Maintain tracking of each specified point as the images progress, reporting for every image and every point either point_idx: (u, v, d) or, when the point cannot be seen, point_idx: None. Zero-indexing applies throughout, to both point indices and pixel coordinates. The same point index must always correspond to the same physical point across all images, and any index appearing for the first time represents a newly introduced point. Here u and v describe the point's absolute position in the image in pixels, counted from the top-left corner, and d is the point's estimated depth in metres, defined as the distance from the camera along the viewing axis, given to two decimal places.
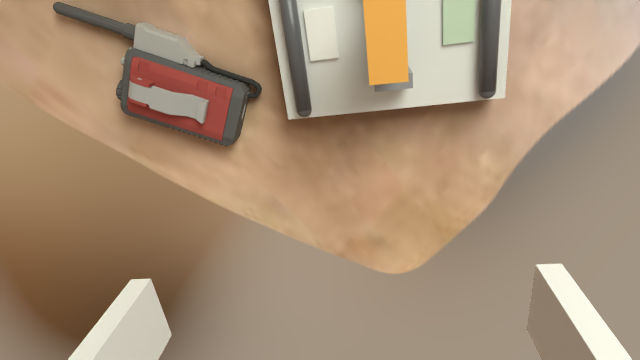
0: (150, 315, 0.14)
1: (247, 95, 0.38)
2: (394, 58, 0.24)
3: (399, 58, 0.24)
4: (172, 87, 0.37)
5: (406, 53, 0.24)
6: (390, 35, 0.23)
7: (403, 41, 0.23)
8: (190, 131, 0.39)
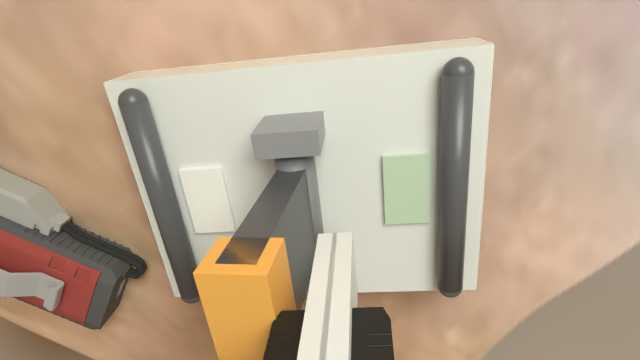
0: None
1: (124, 274, 0.28)
2: (261, 358, 0.13)
3: None
4: (13, 258, 0.26)
5: None
6: (250, 328, 0.13)
7: None
8: (41, 307, 0.28)
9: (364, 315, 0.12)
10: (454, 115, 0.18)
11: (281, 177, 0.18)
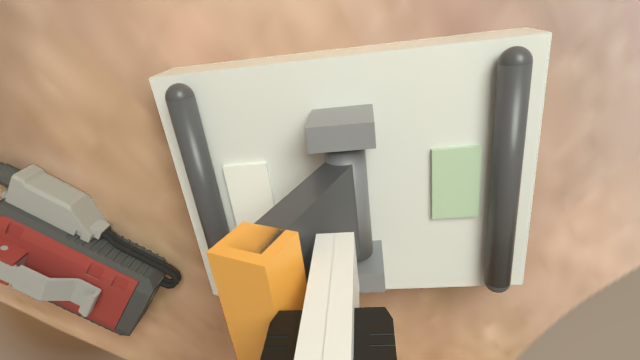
0: None
1: (159, 284, 0.28)
2: None
3: None
4: (52, 263, 0.26)
5: None
6: (253, 313, 0.13)
7: None
8: (72, 311, 0.28)
9: (366, 315, 0.12)
10: (511, 106, 0.18)
11: (325, 170, 0.18)
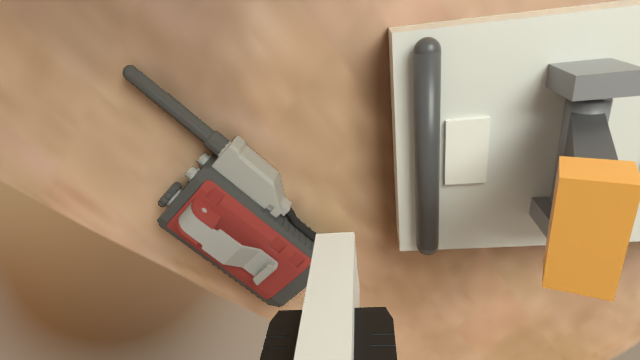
0: None
1: None
2: (595, 266, 0.15)
3: (605, 268, 0.15)
4: (239, 230, 0.28)
5: (620, 265, 0.15)
6: (596, 236, 0.14)
7: (619, 249, 0.14)
8: (233, 276, 0.30)
9: (366, 315, 0.12)
10: None
11: (582, 118, 0.19)
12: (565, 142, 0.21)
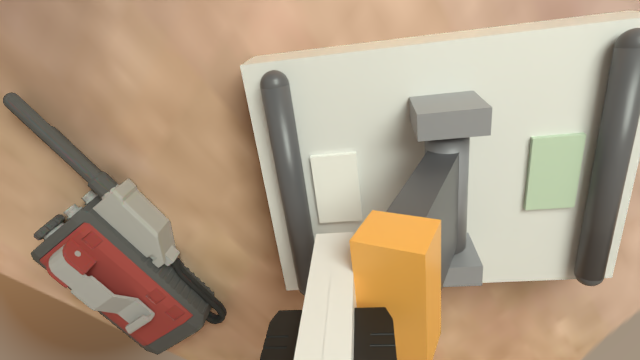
0: None
1: None
2: (403, 337, 0.13)
3: (412, 340, 0.13)
4: (116, 277, 0.26)
5: (424, 338, 0.13)
6: (396, 305, 0.13)
7: (419, 321, 0.13)
8: (109, 319, 0.29)
9: (367, 315, 0.12)
10: (628, 90, 0.17)
11: (433, 158, 0.17)
12: None
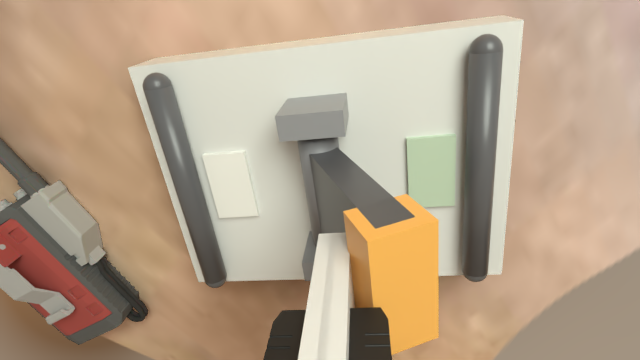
0: None
1: None
2: (418, 313, 0.14)
3: (425, 311, 0.14)
4: (40, 271, 0.28)
5: (436, 302, 0.14)
6: (412, 284, 0.13)
7: (432, 288, 0.13)
8: (34, 307, 0.30)
9: (362, 315, 0.12)
10: (481, 94, 0.18)
11: (324, 157, 0.18)
12: (313, 184, 0.19)
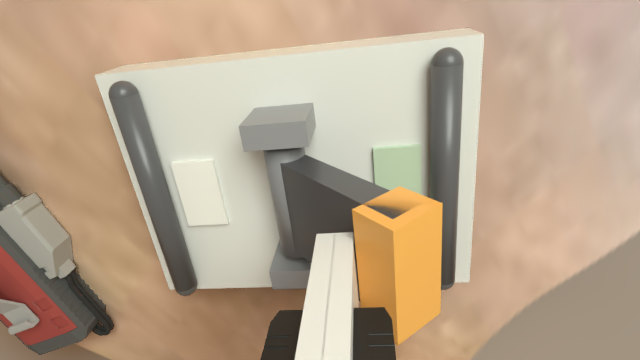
0: None
1: None
2: (427, 293, 0.15)
3: (432, 290, 0.15)
4: (6, 281, 0.28)
5: (439, 280, 0.15)
6: (424, 266, 0.14)
7: (437, 267, 0.15)
8: None
9: (365, 315, 0.12)
10: (443, 106, 0.18)
11: (298, 165, 0.18)
12: (284, 194, 0.19)
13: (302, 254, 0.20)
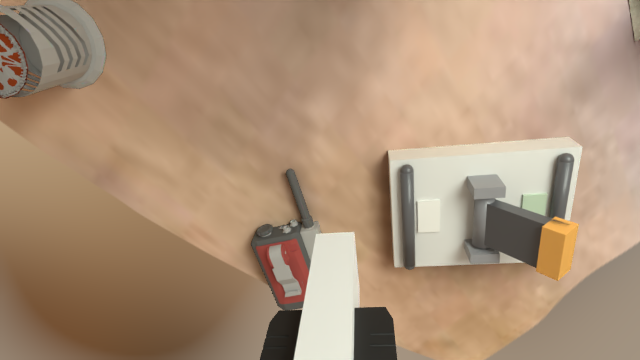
0: None
1: None
2: (568, 260, 0.37)
3: (570, 259, 0.37)
4: (293, 267, 0.50)
5: (572, 254, 0.37)
6: (569, 248, 0.36)
7: (573, 249, 0.37)
8: (271, 285, 0.52)
9: (367, 315, 0.12)
10: (564, 178, 0.40)
11: (497, 205, 0.40)
12: (485, 217, 0.41)
13: (490, 246, 0.42)
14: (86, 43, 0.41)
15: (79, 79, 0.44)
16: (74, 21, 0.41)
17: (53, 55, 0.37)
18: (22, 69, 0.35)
